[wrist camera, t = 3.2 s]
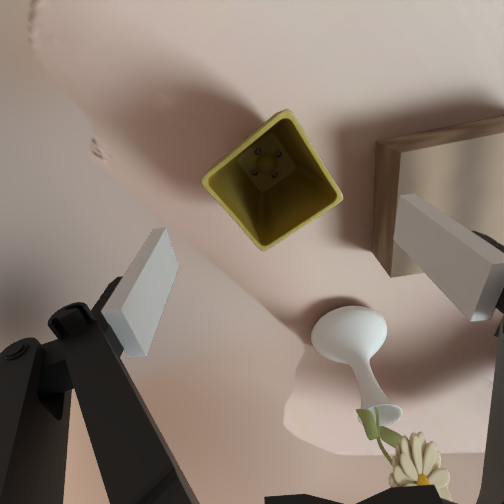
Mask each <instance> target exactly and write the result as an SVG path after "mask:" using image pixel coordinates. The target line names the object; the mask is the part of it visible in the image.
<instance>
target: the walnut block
mask: <svg viewBox="0 0 504 504" xmlns="http://www.w3.org/2000/svg"><path fill="white" fill-rule="evenodd" d="M413 193H414V194H416V195H417V196H419V197H420V198H422V199H423V200H425V201H426V202H428V203H429V204H431V205H432V206H434V207H435V208H437V209H438V210H440V211H441V212H443V213H444V214H446V215H447V216H449V217H450V218H452V219H453V220H455V221H457V222H458V223H460V224H461V225H463V226H464V227H466V228H467V229H469V230H470V231H477V232H479V233H482V234H485V235H488V236H489V237H491V238H492V239H494V240H495V241H497V243H500V244H502V245H503V246H504V115H503V116H499V117H494V118H489V119H484V120H479V121H474V122H469V123H464V124H459V125H454V126H449V127H445V128H440V129H435V130H430V131H425V132H420V133H415V134H410V135H405V136H400V137H395V138H390V139H386V140H381V141H376V150H375V177H374V205H373V232H372V253H373V254H374V256H375V257H376V258H377V260H378V261H379V262H380V264H381V265H382V267H383V268H384V269H385V271H386V272H387V273H388V275H389V276H390V277H391V278H392V277H398V276H405V275H411V274H418V273H424V272H423V270H422V269H421V268H420V267H419V266H418V265H417V264H416V263H415V262H414V261H413V260H412V259H411V258H410V257H409V255H408V254H407V253H406V252H405V251H404V250H403V249H402V248H401V247H400V246H399V245H398V244H397V243H396V241H395V240H394V239H393V238H394V231H395V224H396V218H397V211H398V204H399V198H400V195H406V194H413Z"/></svg>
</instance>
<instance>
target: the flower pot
mask: <svg viewBox="0 0 504 504" xmlns="http://www.w3.org/2000/svg"><path fill="white" fill-rule="evenodd" d="M257 148H258V149H260V153H259V154H256V153H255V150H256V149H257ZM278 151H280V152H281V156H279V157H277V156H276V153H277V152H278ZM253 170H256V171H257V174H256V175H254V174H252V171H253ZM273 173H277V177H273V176H272V174H273ZM201 183H202V185H203V186H204V188H205V189H206V190H207V191H208V192H209V193H210V194H211V195H212V196H213V197H214V198H215V200H217V202H218V203H219V204H220V205H221V206H222V207H223V208H224V209H225V210H226V211H227V212H228V213H229V215H230V216H231V217H232V218H233V219H234V220H235V221H236V223H237V224H238V225H239V226H240V227H241V229H242V230H243V231H244V232H245V233H246V234H247V236H248V237H249V238H250V239H251V240H252V242H253V243H254V244H255V245H256V246H257V247H258V248H259V249H260V250H261V251H266V250H268V249H270V248H271V247H273V246H274V245H276V244H277V243H279V242H280V241H282V240H283V239H285V238H286V237H288V236H289V235H291V234H292V233H294V232H295V231H297V230H298V229H300V228H301V227H303V226H304V225H306V224H308V223H309V222H311V221H312V220H314V219H315V218H317V217H319V216H320V215H322V214H323V213H325V212H326V211H328V210H329V209H331V208H333V207H334V206H336V205H337V204H338V203H340V202H341V201H342V200H343V194H342V192H341V191H340V189H339V187H338V186H337V184H336V183H335V181H334V180H333V178H332V176H331V175H330V173H329V172H328V170H327V168H326V167H325V165H324V163H323V162H322V160H321V158H320V157H319V155H318V154H317V152H316V150H315V149H314V147H313V145H312V144H311V142H310V140H309V139H308V137H307V135H306V134H305V132H304V130H303V128H302V127H301V125H300V123H299V122H298V120H297V118H296V117H295V115H294V114H293V112H292V111H291V110H289V109H285V110H283V111H280V112H278V113H276V114H274V115H273V116H272V117H271V118H270V119H269V120H267V121H266V122H265V123H264V124H263V125H262V126H260V127H259V128H258V129H257V130H256V131H255V132H253V133H252V134H251V135H250V136H248V137H247V138H246V139H245V140H244V141H242V142H241V143H240V144H239V145H237V146H236V147H235V148H234V149H232V150H231V151H230V152H229V153H228V154H226V155H225V156H224V157H222V158H221V159H220V160H219V161H217V162H216V163H215V164H214V165H213V166H212V167H211V168H210V169H209V170H208V172H207V173H206V174H205V175H204V176H203V177H202V179H201Z"/></svg>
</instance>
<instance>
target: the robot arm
mask: <svg viewBox="0 0 504 504" xmlns="http://www.w3.org/2000/svg"><path fill="white" fill-rule="evenodd" d="M393 239H394V240H395V241H396V243H397V244H398V245H399V246H400V247H401V248H402V249H403V250H404V251H405V252H406V253H407V254H408V255H409V257H410V258H411V259H412V260H413V261H414V262H415V263H416V264H417V265H418V266H419V267H420V268H421V269H422V270H423V272H424V273H425V274H426V275H427V276H428V277H429V278H430V279H431V280H432V281H433V282H434V283H435V284H436V285H437V287H438V288H439V289H440V290H441V291H442V292H443V293H444V294H445V295H446V296H447V297H448V298H449V299H450V300H451V302H452V303H453V304H454V305H455V306H456V307H457V308H458V309H459V310H460V311H461V312H462V313H463V314H464V316H465V317H466V318H467V319H468V320H469V321H470V322H472V321H481V320H490V319H491V318H492V315H493V313H494V311H495V309H496V308H497V309H498V310H499V311H500V312H502V313H503V314H504V246H503V245H502V244H500V243H497V241H495V240H494V239H492V238H491V237H489V236H488V235H485V234H482V233H479V232H477V231H470V230H469V229H467V228H466V227H464V226H463V225H461V224H460V223H458V222H457V221H455V220H453V219H452V218H450V217H449V216H447V215H446V214H444V213H443V212H441V211H440V210H438V209H437V208H435V207H434V206H432V205H431V204H429V203H428V202H426V201H425V200H423V199H422V198H420V197H419V196H417V195H416V194H414V193H413V194H406V195H400V198H399V204H398V211H397V218H396V224H395V231H394V238H393ZM178 269H179V264H178V261H177V258H176V255H175V252H174V249H173V246H172V243H171V241H170V238H169V235H168V232H167V229H166V228H160V229H153V230H152V232H151V234H150V235H149V237H148V238H147V240H146V241H145V243H144V245H143V246H142V248H141V249H140V251H139V252H138V254H137V256H136V257H135V259H134V260H133V262H132V263H131V265H130V267H129V268H128V270H127V271H126V273H125V274H124V276H122V277H117V278H116V279H115V280H114V281H113V282H111V283H110V284H109V285H108V287H107V288H106V289H105V291H104V293H103V294H102V295H101V297H100V299H99V300H98V301H97V303H96V304H95V305H94V307H93V309H92V310H91V311H90V309H89V308H88V306H87V305H86V304H85V303H81V302H77V303H72V304H70V305H67V306H65V307H63V308H61V309H60V310H58V311H57V312H55V313H54V314H53V315H52V316H51V318H50V319H49V320H48V326H49V327H50V329H51V330H52V331H53V333H54V334H55V335H56V337H57V338H58V339H57V340H54V341H51V342H48V343H45V344H42V345H41V344H40V343H39V341H38V340H37V339H35V338H25V339H21V340H19V341H17V342H15V343H13V344H11V345H10V346H8V347H7V348H5V350H3V352H1V353H0V504H63V496H64V483H65V470H66V458H67V443H68V431H69V419H70V418H69V417H70V406H71V393H72V389H73V388H74V389H75V392H76V395H77V399H78V401H79V405H80V408H81V411H82V415H83V418H84V421H85V424H86V428H87V431H88V434H89V437H90V441H91V444H92V447H93V450H94V453H95V457H96V460H97V463H98V466H99V469H100V472H101V476H102V479H103V482H104V485H105V489H106V492H107V495H108V498H109V502H110V504H200V503H199V502H198V500H197V498H196V496H195V494H194V492H193V491H192V489H191V487H190V485H189V483H188V481H187V480H186V478H185V476H184V474H183V472H182V470H181V469H180V467H179V465H178V463H177V461H176V460H175V458H174V456H173V454H172V453H171V450H170V449H169V447H168V445H167V443H166V441H165V439H164V437H163V436H162V434H161V432H160V430H159V428H158V427H157V425H156V423H155V421H154V419H153V417H152V416H151V414H150V412H149V410H148V408H147V406H146V405H145V403H144V401H143V399H142V397H141V395H140V394H139V392H138V390H137V388H136V386H135V384H134V383H133V381H132V379H131V377H130V376H129V373H128V372H127V370H126V368H125V366H124V364H123V363H122V361H121V359H120V356H121V354H122V352H123V350H124V351H125V353H126V355H127V356H128V358H129V359H131V358H140V357H147V354H148V351H149V349H150V346H151V343H152V340H153V338H154V335H155V332H156V329H157V327H158V324H159V321H160V318H161V316H162V313H163V310H164V308H165V305H166V302H167V299H168V296H169V294H170V291H171V288H172V286H173V283H174V280H175V277H176V275H177V272H178ZM494 336H497V337H498V336H499V340H498V348H497V357H496V365H495V374H494V382H493V391H492V399H491V408H490V416H489V425H488V433H487V442H486V450H485V459H484V467H483V476H482V484H481V490H480V494H479V497H478V500H477V503H476V504H504V316H503V318H502V320H501V322H500V324H499V326H498V328H497V331H496V333H495V335H494ZM264 498H265V504H342V503H339V502H335V501H331V500H327V499H323V498H319V497H315V496H311V495H307V494H297V495H283V496H270V497H264ZM357 504H457V503H454V502H452V501H449V500H446V499H443V498H440V496H439V493H438V491H437V489H436V487H435V485H434V484H432V485H418V486H405V487H391V488H389V489H387V490H385V491H383V492H381V493H378V494H376V495H374V496H372V497H370V498H367V499H365V500H363V501H361V502H359V503H357Z"/></svg>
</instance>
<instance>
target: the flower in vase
mask: <svg viewBox="0 0 504 504" xmlns="http://www.w3.org/2000/svg"><path fill="white" fill-rule="evenodd" d="M386 335H387V326H386V322H385V319H384V318H383V317H382V315H381V314H379V313H378V312H376V311H375V310H372V309H370V308H367V307H363V306H345V307H341V308H337V309H334V310H332V311H330V312H328V313H327V314H325V315H324V316H322V317H321V318H320V319H319V320H318V322H317V323H316V324H315V326H314V328H313V330H312V333H311V342H312V345H313V346H314V348H315V349H316V350H317V352H318V353H319V354H321V355H322V356H323V357H325V358H327V359H330V360H332V361H335V362H339V363H344V364H348V365H349V366H350V367H351V368H352V369H353V371H354V374H355V376H356V379H357V382H358V385H359V389H360V394H361V409H356V412H357V413H358V415H359V416H358V420H359V422H360V423H361V424H362V425H363V426H364V429H365V432H366V435H367V437H368V439H369V440H373V439H376V438H377V441H378V444H379V447H380V449H381V450H382V452H383V454H384V455H385V456H386V458H387V459H388V461H389V462H390V463H391V465H392V466H393V472H392V473H391V474H390V475H389V485H390V487H405V486H418V485H432V484H434V485H435V487H436V489H437V491H438V493H439V496H440V498H443V499H446V500H449V501H452V498H451V495H450V493H449V491H448V486H447V484H448V482H449V480H450V475H449V472H448V471H447V470H446V469H444V468H442V469H439V468H440V466H441V455H440V452H439V451H438V450H437V447H436V444H435V443H434V442H433V441H431V442H429V443H426V442H425V436H424V434H423V432H418V434H417V435H416V433H412V434H411V436H410V439H409V440H408V438H407V436H405V435H404V436H403V437H402V436H401V435H400V434H398V433H396V432H394V431H392V430H390V429H388V428H386V427H384V426H387V425H390V424H393V423H395V422H396V421H398V420H399V419H400V418H401V417H402V415H403V411H402V409H401V408H400V407H399V406H398V405H396V404H395V403H393V402H392V401H391V400H389V398H388V397H387V396H386V395H385V394H384V392H383V391H382V390H381V388H380V386H379V385H378V383H377V381H376V379H375V377H374V375H373V373H372V370H371V367H370V363H369V361H370V358H371V357H372V356H373V355H374V354H375V353H376V352H377V351H378V350H379V349H380V347H381V346H382V344H383V342H384V341H385V338H386ZM380 437H381V439H382V440H383V441H384V442H386V443H387V444H389V445H391V446H392V447H394V448H396V456H393V458H392V459H391V457H390V456H389V455H388V453H387V452H386V450H385V449H384V447H383V445H382V443H381V440H380Z"/></svg>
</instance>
